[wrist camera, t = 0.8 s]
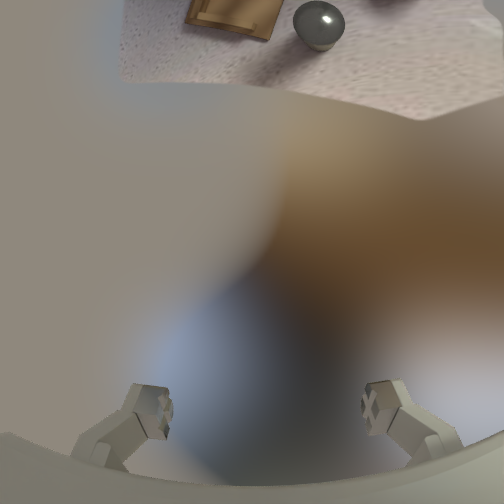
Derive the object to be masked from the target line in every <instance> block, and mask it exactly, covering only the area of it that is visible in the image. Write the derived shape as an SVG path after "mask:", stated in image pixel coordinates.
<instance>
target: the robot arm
mask: <svg viewBox="0 0 504 504" xmlns="http://www.w3.org/2000/svg"><path fill="white" fill-rule="evenodd" d="M365 392H366V393H365V394H364V395H363V396H362V399H361V413H362V416H363V417H364V418H365V419H367V420H366V423H365V426H366V430H367V433H368V436H372V435H378V434H384V433H387V435H388V436H389V437H390V438H392V439H393V440H394V441H395V442H396V443H397V444H398V445H399V446H400V447H401V448H403V449H404V450H405V451H406V452H407V453H408V454H409V455H410V456H411V457H412V458H411V460H410V461H409V462H408V464H407V465H406V466H405V467H403V468H400V469H395V470H391V471H387V472H383V473H378V474H373V475H368V476H363V477H358V478H352V479H346V480H339V481H332V482H325V483H314V484H303V485H289V486H265V487H264V486H257V487H256V486H255V487H254V486H248V487H247V486H220V485H206V484H194V483H186V482H177V481H171V480H164V479H158V478H152V477H146V476H140V475H136V474H131V473H129V471H128V470H127V469H126V467H125V466H124V465H123V462H124V461H125V460H126V459H127V458H128V457H129V456H131V455H132V454H133V453H134V452H135V451H136V450H137V449H138V448H139V447H140V446H141V445H142V444H143V443H144V442H145V441H146V440H147V438H150V439H158V440H167V437H168V433H169V429H170V428H169V425H168V423H169V422H170V421H172V417H173V403H172V400H171V399H170V398H169V390H168V388H166V387H158V386H150V385H142V384H135V383H133V384H132V385H131V387H130V389H129V392H128V394H127V396H126V399H125V401H124V403H123V406H122V408H121V410H117V411H115V412H114V413H112V414H111V415H109V416H108V417H106V418H105V419H103V420H102V421H101V422H99V423H98V424H96V425H94V426H93V427H91V428H90V429H88V430H87V431H85V432H84V433H82V434H81V435H80V436H79V437H78V439H77V442H76V444H75V446H74V448H73V450H72V452H71V455H70V456H67V455H64V454H61V453H58V452H55V451H53V450H50V449H48V448H45V447H42V446H40V445H38V444H35V443H33V442H30V441H28V440H26V439H24V438H22V437H19V436H17V435H15V434H13V433H10V432H4V433H1V434H0V504H504V430H502V431H500V432H498V433H496V434H494V435H492V436H490V437H487V438H485V439H483V440H481V441H479V442H476V443H474V444H471V445H469V446H466V447H464V446H463V444H462V442H461V440H460V438H459V436H458V434H457V432H456V430H455V428H454V427H453V426H451V425H449V424H448V423H446V422H444V421H443V420H441V419H440V418H438V417H436V416H435V415H433V414H432V413H430V412H428V411H427V410H425V409H424V408H422V407H421V406H419V405H417V404H413V402H412V400H411V398H410V396H409V394H408V392H407V389H406V388H405V385H404V383H403V381H402V380H401V379H400V378H397V379H391V380H385V381H378V382H372V383H367V384H366V386H365Z"/></svg>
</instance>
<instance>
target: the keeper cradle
mask: <svg viewBox="0 0 504 504" xmlns="http://www.w3.org/2000/svg"><path fill="white" fill-rule="evenodd" d="M283 1H284V0H192V2H191V5H190V8H189V11H188V14H187V17H186V20H185V23H187V24H194V25H200V26H206V27H212V28H218V29H223V30H228V31H233V32H237V33H242V34H246V35H250V36H254V37H258V38H262V39H266V40H270V37H271V34H272V31H273V28H274V25H275V23H276V20H277V17H278V14H279V12H280V9H281V6H282V4H283Z"/></svg>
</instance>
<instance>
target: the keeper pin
mask: <svg viewBox="0 0 504 504" xmlns="http://www.w3.org/2000/svg"><path fill="white" fill-rule="evenodd" d="M293 25H294V28H295V31H296V32H297V34H298V35H299V36H300V38H301V39H303V40H304V41H305V43H306V44H307V46H309V47H310V48H311V49H313V50H316V51H327V50H329V49H331V48H332V47H333V46H334V45H335V43H336V41H338V40H339V39H340V37H341V36H342V34H343V32H344V29H345V21H344V18H343V15H342V14H341V12H340V11H339V10H338V9H337V8H336V7H335V6H333V5H331V4H329V3H327V2H323V1H310V2H307V3H305V4H303V5H301V6H300V7H299V8H298V9H297V10H296V12H295V14H294V17H293Z"/></svg>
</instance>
